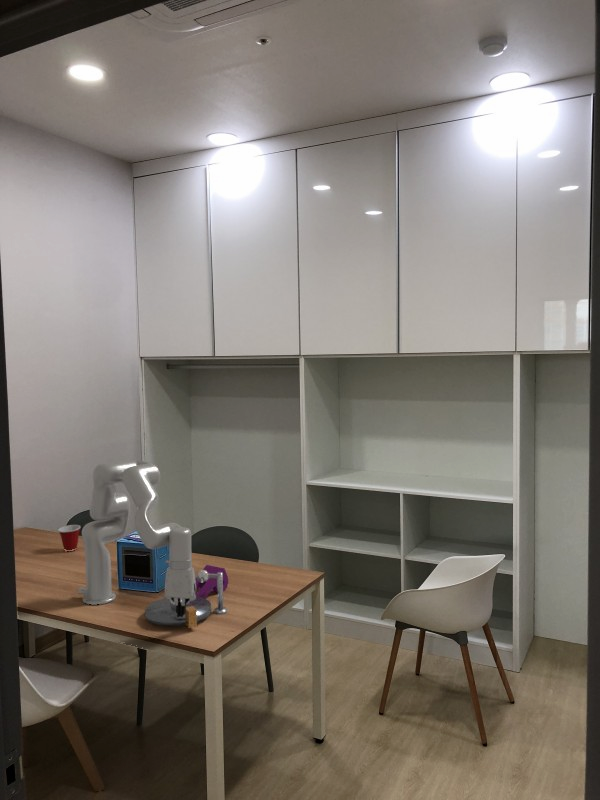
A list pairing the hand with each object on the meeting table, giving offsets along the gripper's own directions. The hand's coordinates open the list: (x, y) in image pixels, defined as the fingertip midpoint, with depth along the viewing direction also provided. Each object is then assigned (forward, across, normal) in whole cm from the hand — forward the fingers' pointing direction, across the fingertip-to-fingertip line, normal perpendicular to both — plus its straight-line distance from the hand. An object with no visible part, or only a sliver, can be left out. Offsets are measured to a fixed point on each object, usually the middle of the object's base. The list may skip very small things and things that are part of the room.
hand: (181, 615), depth 223 cm
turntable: (+5, -5, +12) cm, 14 cm away
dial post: (+6, +4, +20) cm, 22 cm away
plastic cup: (+9, -93, +84) cm, 126 cm away
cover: (+3, -6, +14) cm, 15 cm away
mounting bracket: (+7, -4, +37) cm, 38 cm away
